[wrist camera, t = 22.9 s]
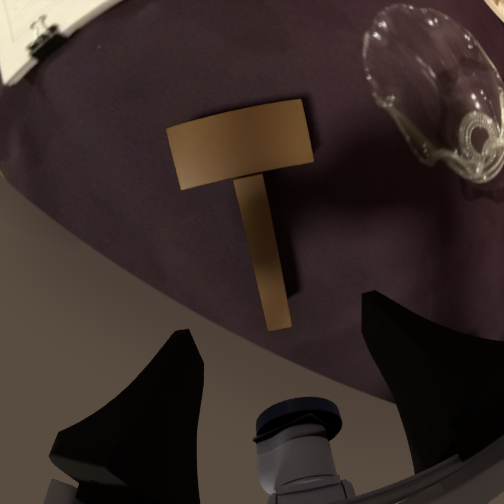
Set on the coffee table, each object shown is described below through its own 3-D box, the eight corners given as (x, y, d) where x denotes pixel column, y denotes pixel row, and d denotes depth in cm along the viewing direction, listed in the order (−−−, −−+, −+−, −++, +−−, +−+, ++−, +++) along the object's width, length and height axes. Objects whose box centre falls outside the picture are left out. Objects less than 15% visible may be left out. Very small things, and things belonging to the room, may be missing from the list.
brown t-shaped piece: (227, 312, 22) (224, 339, 18) (177, 130, 17) (163, 127, 14) (323, 292, 21) (335, 316, 18) (292, 105, 16) (302, 96, 13)
